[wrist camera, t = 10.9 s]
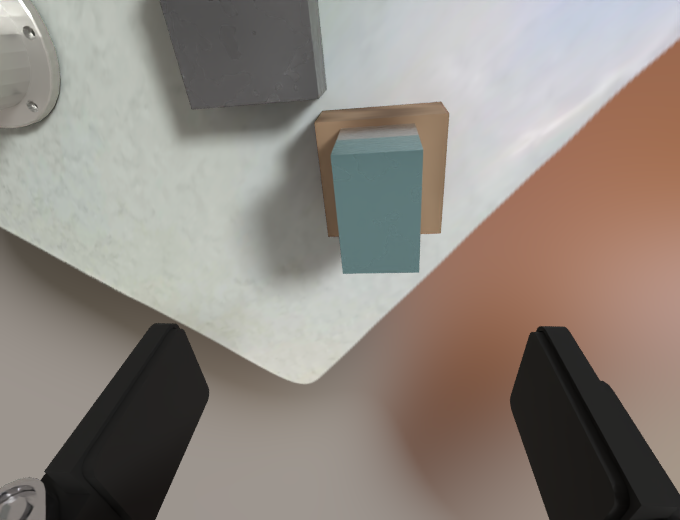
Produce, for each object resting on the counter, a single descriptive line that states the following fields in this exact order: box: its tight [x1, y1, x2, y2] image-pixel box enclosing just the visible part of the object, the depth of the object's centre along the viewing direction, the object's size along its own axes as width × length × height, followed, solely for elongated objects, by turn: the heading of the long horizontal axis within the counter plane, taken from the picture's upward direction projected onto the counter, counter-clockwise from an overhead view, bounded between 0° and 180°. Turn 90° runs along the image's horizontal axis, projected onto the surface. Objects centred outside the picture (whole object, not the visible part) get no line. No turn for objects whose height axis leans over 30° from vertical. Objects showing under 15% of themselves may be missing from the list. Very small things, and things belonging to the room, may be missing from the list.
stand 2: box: [314, 102, 449, 237], centre depth 28 cm, size 9×9×4 cm
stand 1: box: [160, 0, 327, 109], centre depth 24 cm, size 9×9×4 cm
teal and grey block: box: [331, 123, 423, 274], centre depth 24 cm, size 8×5×6 cm, turn 5°
